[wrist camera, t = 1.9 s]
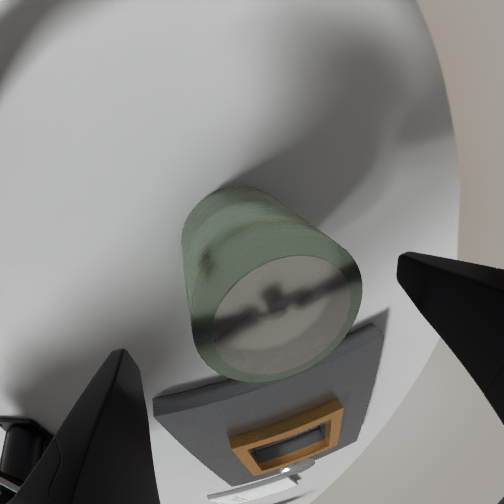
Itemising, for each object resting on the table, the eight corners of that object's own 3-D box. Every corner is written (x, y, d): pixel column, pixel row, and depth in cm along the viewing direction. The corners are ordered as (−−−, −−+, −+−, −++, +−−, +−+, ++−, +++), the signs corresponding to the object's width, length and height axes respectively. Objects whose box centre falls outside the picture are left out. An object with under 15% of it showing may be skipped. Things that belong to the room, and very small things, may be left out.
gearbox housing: (229, 476, 24) (234, 493, 22) (152, 398, 15) (154, 429, 13) (351, 432, 27) (360, 446, 25) (372, 322, 18) (392, 343, 16)
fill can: (199, 300, 13) (222, 401, 8) (167, 204, 11) (162, 274, 6) (293, 270, 14) (359, 348, 9) (279, 174, 12) (365, 213, 6)
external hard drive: (295, 477, 33) (227, 499, 31) (284, 469, 29) (205, 492, 28) (298, 485, 31) (229, 506, 30) (288, 478, 27) (208, 501, 26)
